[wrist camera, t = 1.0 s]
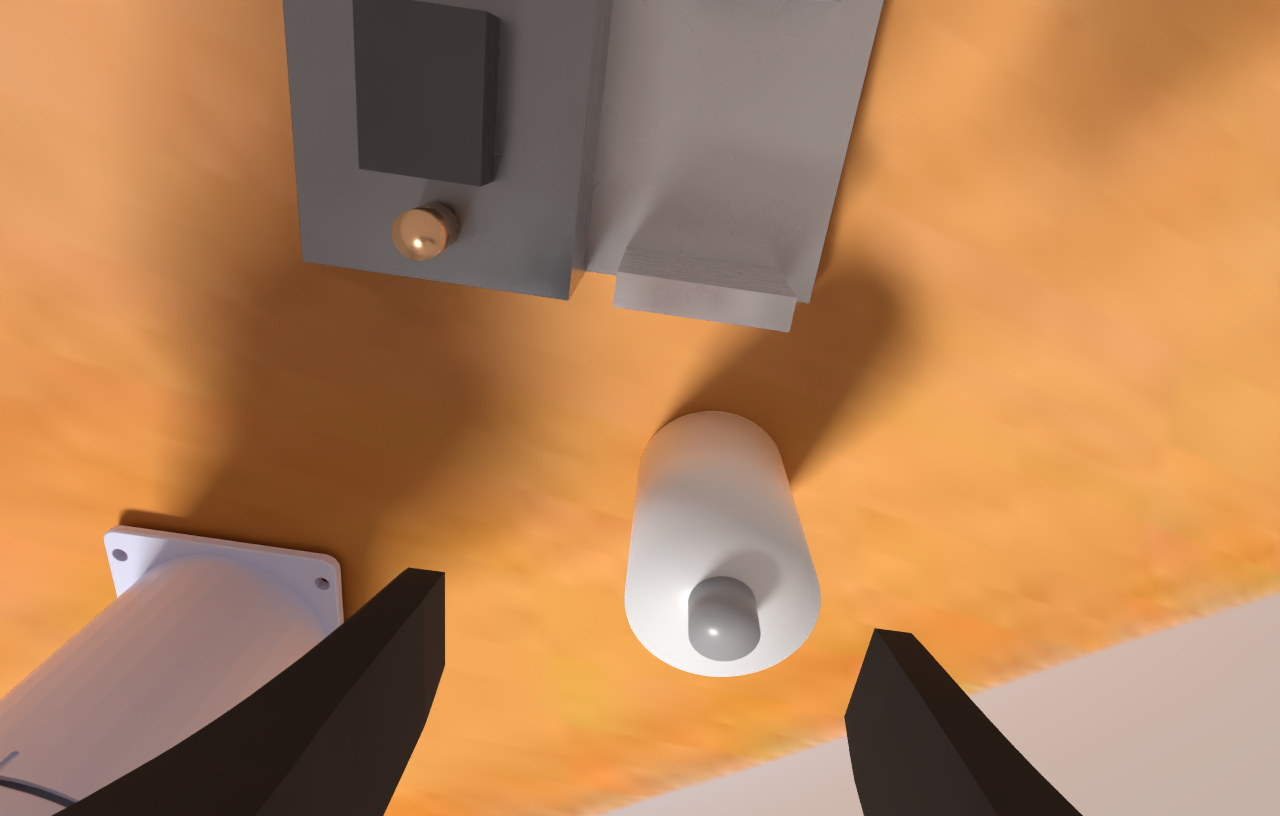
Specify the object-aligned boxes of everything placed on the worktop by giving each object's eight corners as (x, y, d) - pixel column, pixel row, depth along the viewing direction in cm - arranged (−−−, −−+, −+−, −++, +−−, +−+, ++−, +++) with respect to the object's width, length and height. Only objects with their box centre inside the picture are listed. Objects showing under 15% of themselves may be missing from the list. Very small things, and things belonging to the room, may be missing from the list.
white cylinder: (766, 545, 22) (802, 721, 16) (629, 526, 22) (609, 694, 16) (798, 422, 20) (854, 564, 14) (648, 400, 20) (635, 534, 14)
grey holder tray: (802, 294, 19) (845, 356, 14) (376, 231, 19) (272, 273, 14) (879, -24, 15) (967, -83, 11) (366, -101, 15) (228, -194, 11)
